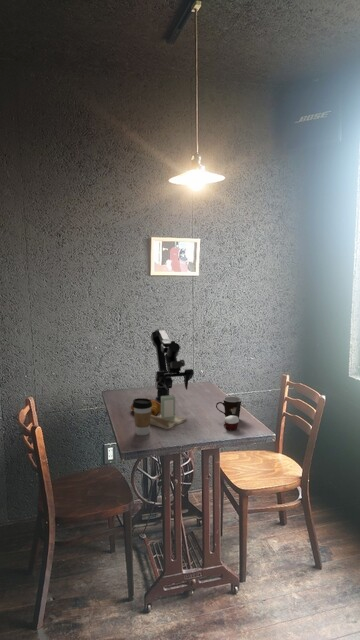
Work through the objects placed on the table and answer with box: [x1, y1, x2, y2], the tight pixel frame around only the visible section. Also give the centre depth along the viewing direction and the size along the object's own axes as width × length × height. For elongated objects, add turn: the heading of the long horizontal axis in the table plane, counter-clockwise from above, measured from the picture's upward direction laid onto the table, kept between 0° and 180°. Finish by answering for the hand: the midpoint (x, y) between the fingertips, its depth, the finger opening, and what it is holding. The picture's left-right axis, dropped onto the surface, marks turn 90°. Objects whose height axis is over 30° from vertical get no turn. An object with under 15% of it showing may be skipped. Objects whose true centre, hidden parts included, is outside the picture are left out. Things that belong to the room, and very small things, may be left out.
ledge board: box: [150, 414, 187, 430], centre depth 200 cm, size 14×13×4 cm
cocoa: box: [223, 400, 242, 431], centre depth 190 cm, size 10×6×12 cm, turn 103°
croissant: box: [130, 397, 161, 416], centre depth 213 cm, size 14×16×8 cm
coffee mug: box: [215, 396, 242, 419], centre depth 203 cm, size 12×9×10 cm
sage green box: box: [160, 394, 176, 420], centre depth 200 cm, size 4×6×11 cm, turn 105°
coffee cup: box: [132, 397, 152, 436], centre depth 186 cm, size 8×8×15 cm
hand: (177, 390), depth 205 cm, fingers open, 9 cm apart
